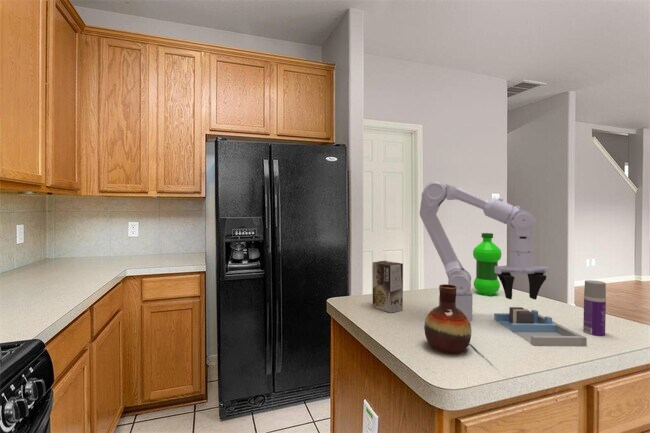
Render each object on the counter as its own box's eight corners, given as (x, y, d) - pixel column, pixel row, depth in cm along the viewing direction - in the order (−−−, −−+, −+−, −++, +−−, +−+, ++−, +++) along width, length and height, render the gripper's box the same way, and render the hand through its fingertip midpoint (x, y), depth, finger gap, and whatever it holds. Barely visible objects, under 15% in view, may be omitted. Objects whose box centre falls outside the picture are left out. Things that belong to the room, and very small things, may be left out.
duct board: (533, 349, 83) (533, 331, 83) (494, 322, 102) (494, 308, 102) (586, 349, 83) (586, 331, 83) (536, 323, 102) (537, 308, 102)
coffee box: (403, 310, 115) (404, 263, 115) (390, 313, 111) (390, 265, 111) (384, 304, 123) (385, 260, 122) (371, 306, 119) (371, 261, 119)
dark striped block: (520, 329, 94) (520, 313, 94) (508, 322, 100) (509, 306, 100) (534, 329, 94) (534, 313, 94) (521, 322, 100) (521, 307, 100)
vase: (434, 335, 92) (434, 279, 92) (476, 346, 85) (477, 285, 84) (416, 348, 83) (417, 286, 83) (462, 361, 76) (463, 293, 76)
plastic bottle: (481, 289, 146) (482, 232, 145) (505, 294, 137) (506, 233, 137) (467, 292, 141) (468, 233, 140) (491, 298, 132) (492, 234, 131)
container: (606, 341, 89) (607, 284, 88) (584, 337, 91) (585, 282, 91) (603, 335, 93) (604, 281, 92) (582, 332, 95) (583, 279, 95)
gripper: (503, 253, 93) (502, 302, 93) (556, 253, 93) (555, 302, 93) (491, 250, 100) (490, 295, 100) (540, 250, 100) (539, 296, 100)
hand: (520, 298), depth 97 cm, fingers open, 6 cm apart
